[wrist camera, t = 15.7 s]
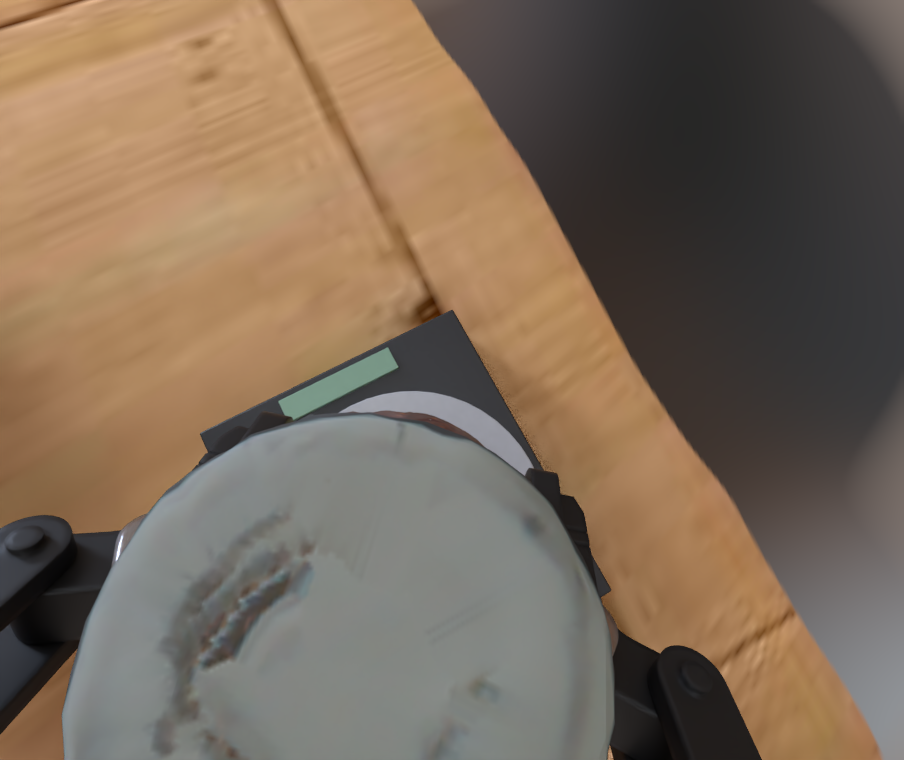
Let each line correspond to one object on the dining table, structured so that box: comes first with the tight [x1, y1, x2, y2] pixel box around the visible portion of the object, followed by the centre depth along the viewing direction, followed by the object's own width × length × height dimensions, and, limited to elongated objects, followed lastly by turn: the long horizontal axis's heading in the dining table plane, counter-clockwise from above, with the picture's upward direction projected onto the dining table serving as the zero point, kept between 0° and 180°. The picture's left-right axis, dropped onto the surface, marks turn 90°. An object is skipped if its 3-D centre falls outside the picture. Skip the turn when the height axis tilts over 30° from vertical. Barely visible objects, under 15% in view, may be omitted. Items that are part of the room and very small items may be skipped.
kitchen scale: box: [200, 310, 611, 598], centre depth 25 cm, size 16×14×3 cm
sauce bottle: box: [62, 410, 615, 760], centre depth 13 cm, size 7×6×20 cm
